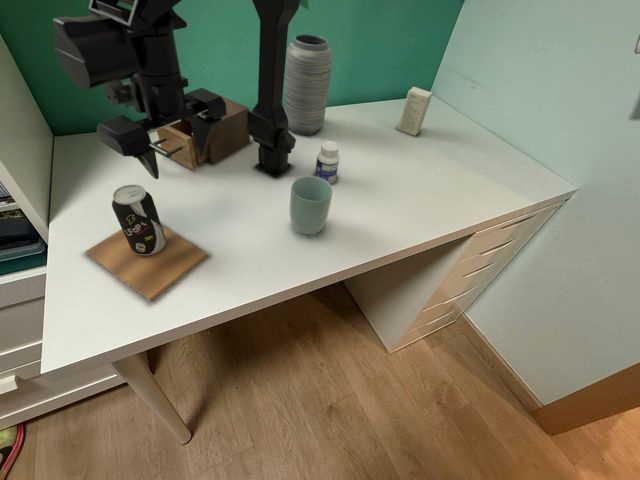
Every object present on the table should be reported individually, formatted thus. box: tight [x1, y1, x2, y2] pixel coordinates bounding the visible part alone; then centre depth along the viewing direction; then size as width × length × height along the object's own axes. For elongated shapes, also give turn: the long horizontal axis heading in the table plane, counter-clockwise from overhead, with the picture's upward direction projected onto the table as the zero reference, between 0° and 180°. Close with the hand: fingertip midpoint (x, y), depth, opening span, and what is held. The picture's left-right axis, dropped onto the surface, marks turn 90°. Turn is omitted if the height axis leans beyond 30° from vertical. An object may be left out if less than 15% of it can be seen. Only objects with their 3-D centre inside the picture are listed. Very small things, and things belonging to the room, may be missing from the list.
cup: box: [289, 175, 333, 235], centre depth 64 cm, size 8×8×10 cm
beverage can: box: [111, 184, 166, 255], centre depth 54 cm, size 6×6×12 cm
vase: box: [283, 33, 334, 135], centre depth 88 cm, size 12×12×23 cm
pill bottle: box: [314, 140, 340, 184], centre depth 77 cm, size 5×5×9 cm
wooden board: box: [85, 224, 208, 302], centre depth 58 cm, size 16×12×1 cm
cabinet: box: [185, 92, 251, 165], centre depth 81 cm, size 14×11×10 cm
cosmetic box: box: [397, 86, 433, 137], centre depth 98 cm, size 6×4×12 cm
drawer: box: [150, 119, 209, 171], centre depth 76 cm, size 17×10×8 cm, turn 148°
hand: (179, 166), depth 55 cm, fingers open, 9 cm apart
